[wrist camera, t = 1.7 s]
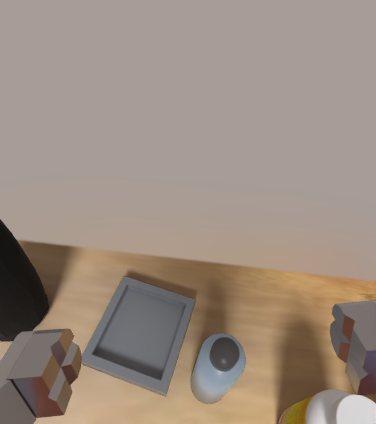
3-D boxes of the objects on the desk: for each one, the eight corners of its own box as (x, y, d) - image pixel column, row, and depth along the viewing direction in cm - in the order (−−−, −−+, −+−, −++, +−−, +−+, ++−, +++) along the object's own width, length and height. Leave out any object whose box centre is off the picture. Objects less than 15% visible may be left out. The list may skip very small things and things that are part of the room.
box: (82, 364, 36) (79, 360, 35) (125, 282, 44) (123, 275, 43) (165, 396, 35) (165, 393, 33) (194, 305, 43) (195, 299, 41)
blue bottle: (186, 396, 35) (196, 368, 26) (196, 358, 38) (208, 321, 29) (221, 409, 34) (244, 386, 25) (229, 370, 37) (252, 336, 28)
